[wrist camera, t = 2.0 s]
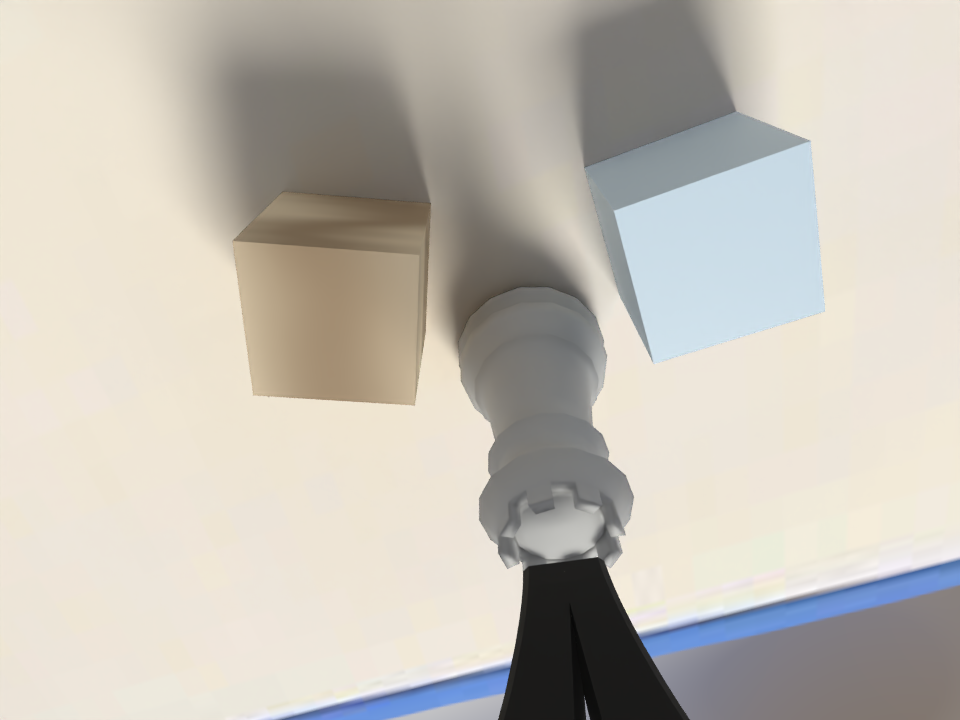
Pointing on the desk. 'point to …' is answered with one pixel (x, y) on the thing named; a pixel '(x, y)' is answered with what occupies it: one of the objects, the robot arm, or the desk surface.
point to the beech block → (335, 297)
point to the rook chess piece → (543, 429)
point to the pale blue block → (711, 233)
